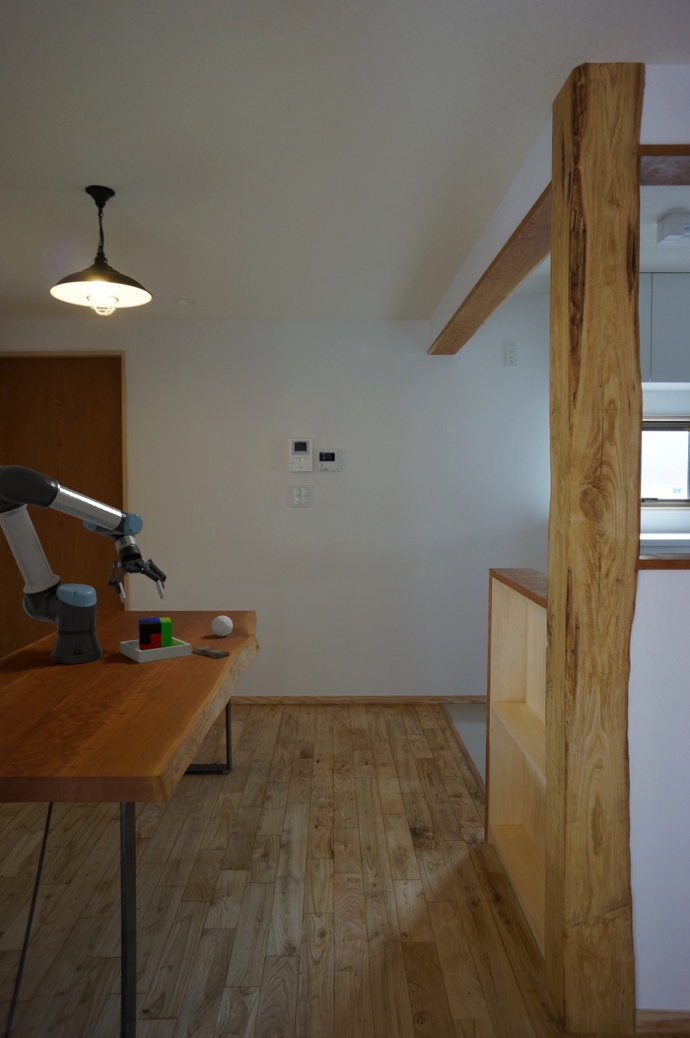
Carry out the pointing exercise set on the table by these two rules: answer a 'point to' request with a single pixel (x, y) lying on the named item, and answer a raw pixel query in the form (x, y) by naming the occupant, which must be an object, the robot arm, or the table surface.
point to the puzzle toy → (155, 633)
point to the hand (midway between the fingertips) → (143, 598)
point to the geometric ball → (222, 626)
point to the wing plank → (210, 651)
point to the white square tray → (155, 651)
